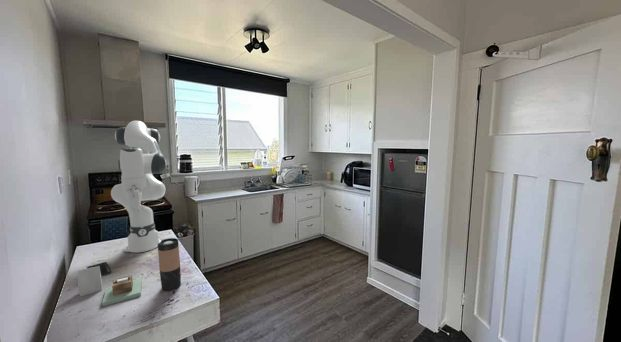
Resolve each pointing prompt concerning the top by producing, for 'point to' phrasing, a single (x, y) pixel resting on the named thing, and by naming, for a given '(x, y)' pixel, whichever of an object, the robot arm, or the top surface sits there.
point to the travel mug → (169, 264)
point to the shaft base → (112, 299)
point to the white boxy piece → (89, 280)
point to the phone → (102, 268)
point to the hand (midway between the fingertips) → (136, 214)
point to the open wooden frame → (122, 286)
